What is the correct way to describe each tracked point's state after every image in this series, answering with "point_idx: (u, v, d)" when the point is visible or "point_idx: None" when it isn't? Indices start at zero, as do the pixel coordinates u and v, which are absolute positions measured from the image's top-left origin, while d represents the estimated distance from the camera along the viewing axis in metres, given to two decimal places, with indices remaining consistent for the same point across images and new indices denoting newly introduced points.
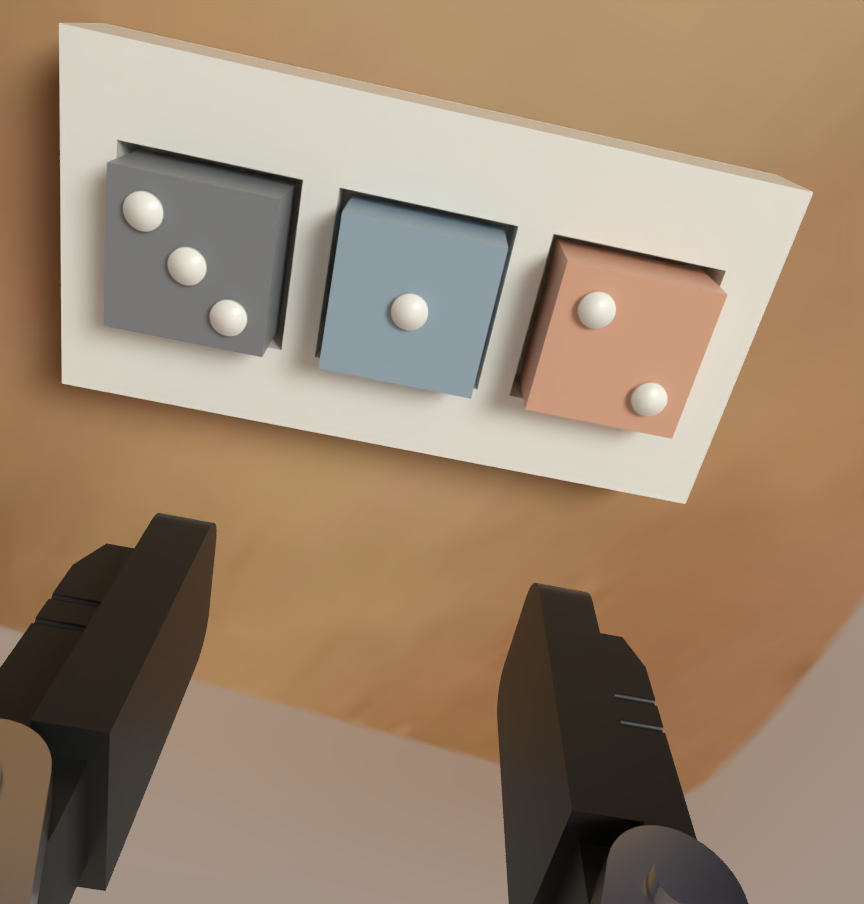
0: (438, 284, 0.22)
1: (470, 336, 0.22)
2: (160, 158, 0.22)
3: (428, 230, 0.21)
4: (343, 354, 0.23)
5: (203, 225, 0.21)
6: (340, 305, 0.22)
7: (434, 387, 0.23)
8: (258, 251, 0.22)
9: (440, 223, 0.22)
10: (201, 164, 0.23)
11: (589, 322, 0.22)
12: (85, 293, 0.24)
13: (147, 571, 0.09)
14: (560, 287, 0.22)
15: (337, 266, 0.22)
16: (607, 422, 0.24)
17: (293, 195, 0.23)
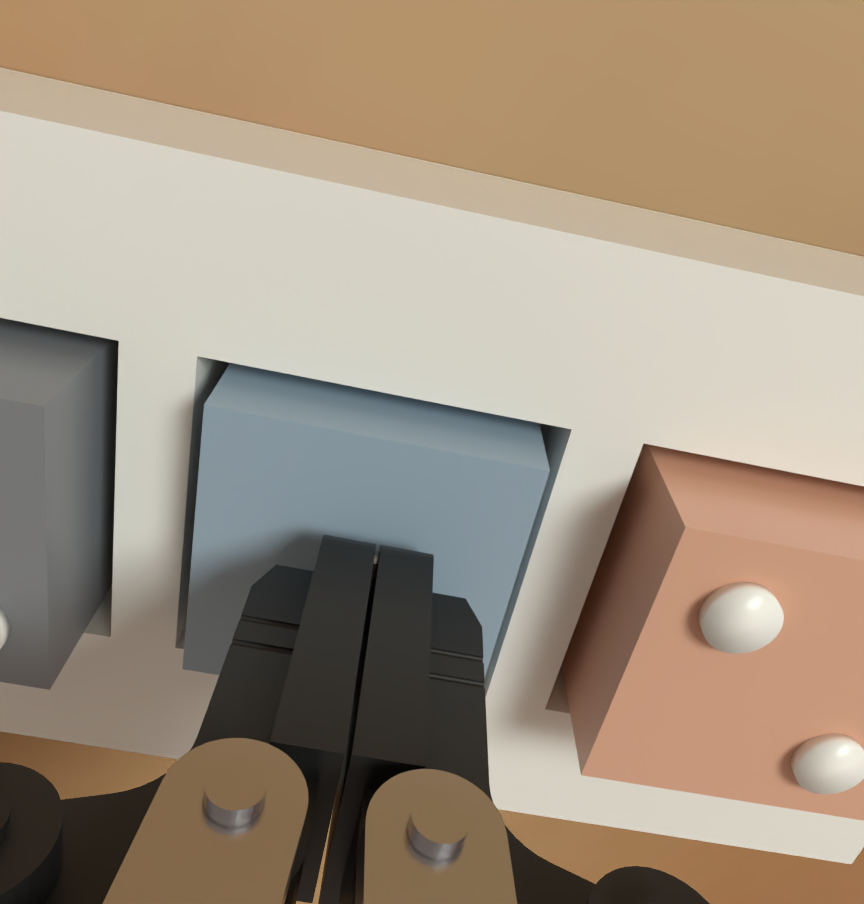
0: (408, 533, 0.11)
1: None
2: None
3: (385, 437, 0.10)
4: (227, 647, 0.12)
5: None
6: (214, 568, 0.11)
7: None
8: (11, 507, 0.10)
9: (412, 405, 0.11)
10: None
11: (724, 643, 0.10)
12: None
13: (332, 593, 0.09)
14: (665, 574, 0.10)
15: (203, 501, 0.11)
16: (741, 795, 0.12)
17: (113, 359, 0.11)
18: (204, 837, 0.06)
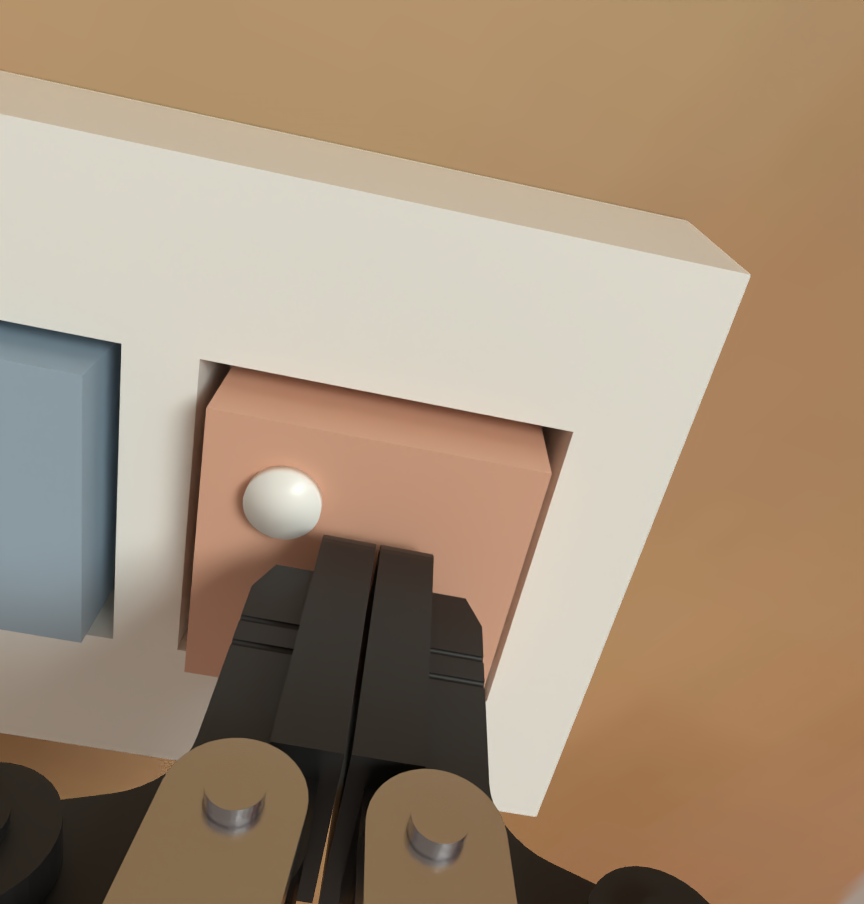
0: None
1: (49, 537, 0.11)
2: None
3: None
4: None
5: None
6: None
7: (5, 625, 0.12)
8: None
9: None
10: None
11: (269, 528, 0.11)
12: None
13: (332, 593, 0.09)
14: (203, 458, 0.10)
15: None
16: None
17: None
18: (204, 837, 0.06)
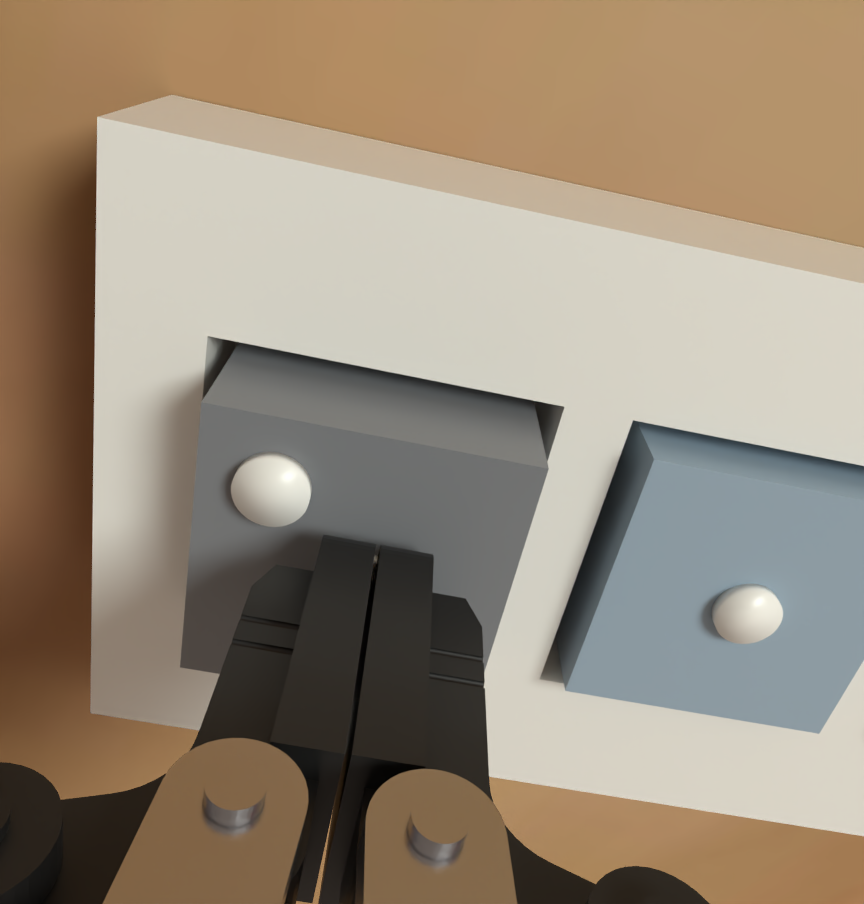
0: (806, 571, 0.12)
1: (842, 647, 0.13)
2: (289, 360, 0.12)
3: (807, 487, 0.12)
4: (612, 671, 0.13)
5: (387, 511, 0.11)
6: (621, 601, 0.12)
7: (759, 718, 0.14)
8: (490, 555, 0.11)
9: (799, 454, 0.12)
10: None
11: None
12: (135, 584, 0.13)
13: (332, 593, 0.09)
14: None
15: (627, 543, 0.12)
16: None
17: None
18: (204, 837, 0.06)
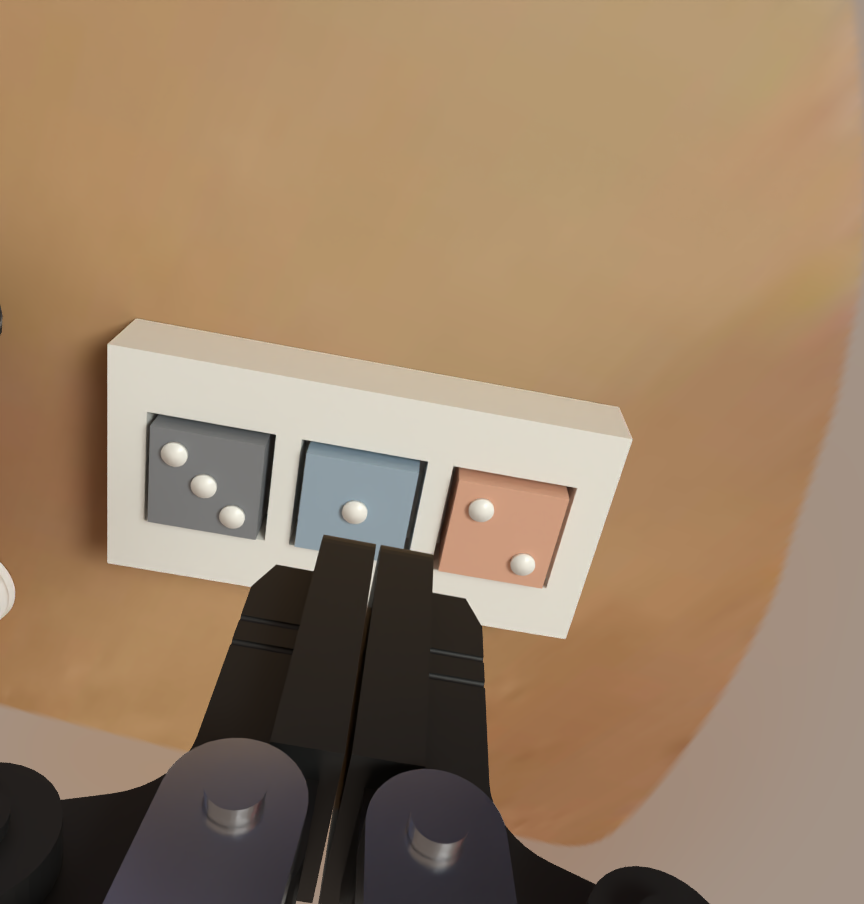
0: (373, 494, 0.32)
1: (397, 526, 0.33)
2: None
3: (364, 462, 0.32)
4: (311, 537, 0.33)
5: (214, 461, 0.32)
6: (307, 507, 0.33)
7: (374, 558, 0.34)
8: (251, 476, 0.32)
9: None
10: None
11: (476, 518, 0.32)
12: (124, 505, 0.33)
13: (332, 593, 0.09)
14: (456, 495, 0.32)
15: (304, 484, 0.32)
16: (496, 578, 0.34)
17: None
18: (203, 837, 0.06)
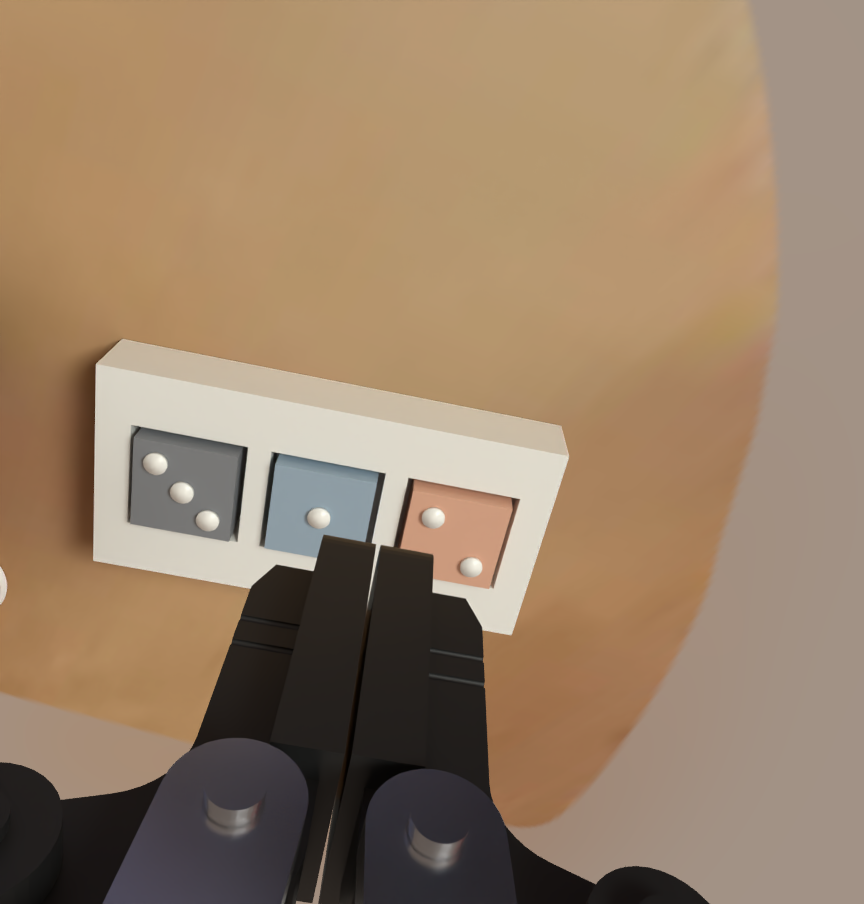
0: (336, 502, 0.36)
1: (357, 530, 0.36)
2: None
3: (328, 473, 0.35)
4: (279, 540, 0.37)
5: (191, 470, 0.35)
6: (276, 513, 0.36)
7: None
8: (225, 484, 0.35)
9: None
10: None
11: (429, 525, 0.36)
12: (109, 508, 0.37)
13: (332, 593, 0.09)
14: (410, 504, 0.36)
15: (273, 492, 0.35)
16: (447, 579, 0.37)
17: None
18: (204, 837, 0.06)
